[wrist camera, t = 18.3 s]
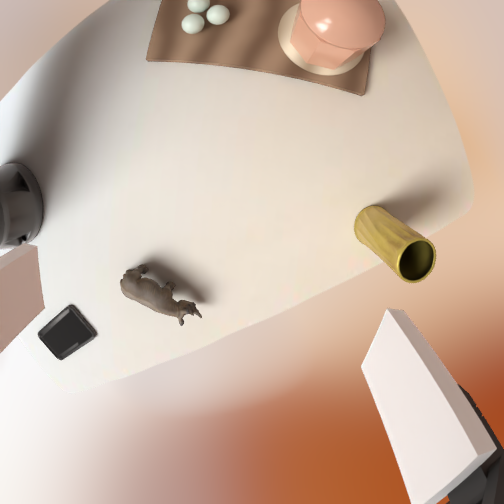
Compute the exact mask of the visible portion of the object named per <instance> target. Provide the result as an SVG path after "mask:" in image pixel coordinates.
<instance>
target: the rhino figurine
mask: <svg viewBox="0 0 504 504" xmlns="http://www.w3.org/2000/svg"><path fill="white" fill-rule="evenodd" d="M147 271H148V268H147V267H146V266H145V265H140V266H138V269H134V270H133V271H130V270H127V271H126V274H124V275H123V279H121V281H120V285H121V290H122V293H123V294H124V295H125V296H126V297H128V298H130V299H132V300H135V301H137V302H139V303H141V304H143V305H145V306H147V307H149V308H150V309H152V310H154V311H156V312H159V313H162V314H165V315H169V316H174V317H177V318H178V319H179V323H180V325H181V326H182V325H183V324H184V320H183V319H182V318H183V317H184V315H186V314H191V315H193V316H194V314H196V315H198V316H199V317H200V318H202V316H201V314H200V313H199V311H198V310H197V309H196V307H195V306H196V304H195V303H194V302H189V301H186V300H180V301H179V302H176V301H175V300H174V299H173V298H172V295H173V294H172V292H171V290H172V289H174V287H175V283H174V282H167V283H166V286H165V287H164V288H161V287H160V286H159V285H158V283H157V282H155V281H154V280H152V279H148V278H141V277H142V276H141V274H145V273H146V272H147ZM193 313H194V314H193Z"/></svg>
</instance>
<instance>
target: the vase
mask: <svg viewBox="0 0 504 504" xmlns="http://www.w3.org/2000/svg"><path fill="white" fill-rule="evenodd" d="M354 231H355V235H356V237H357V239H358V240H359V241H360V242H361V243H363V244H364V245H366V246H367V247H369V248H370V249H371V250H372V251H373V252H374V253H375V254H376V255H378V256H379V257H380V258H381V259H382V260H383V261H384V262H385V263H386V264H387V265H388V266H389V267H390V268H391V269H392V270H393V271H394V272H395V273H396V274H397V275H398V276H399V277H400V278H401V279H402V280H404V281H405V282H408V283H417V282H420V281H422V280H424V279H425V278H426V277H427V276H428V275H429V274H430V273H431V272H432V270H433V268H434V265H435V261H436V250H435V247H434V245H433V244H432V243H431V242H430V241H429V240H428V239H426V238H425V237H423V236H422V235H421V234H419V233H418V232H416V231H415V230H413V229H411V228H410V227H408V226H407V225H405V224H404V223H402V222H401V221H400V220H398V219H396V218H395V217H393V216H392V215H390V214H389V213H388V212H387V211H386V210H385V209H384V208H382V207H379V206H369V207H367V208H365V209H363V210H362V211H361V212H360V213H359V214H358V216H357V218H356V220H355V225H354Z"/></svg>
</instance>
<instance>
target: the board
mask: <svg viewBox="0 0 504 504" xmlns="http://www.w3.org/2000/svg"><path fill="white" fill-rule="evenodd" d="M187 3H188V0H162V2H161V5H160V8H159V11H158V15H157V18H156V22H155V25H154V29H153V32H152V36H151V40H150V44H149V48H148V52H147V56H146V60H147V61H159V62H182V63H196V64H208V65H217V66H226V67H234V68H241V69H248V70H254V71H260V72H266V73H272V74H277V75H282V76H287V77H292V78H296V79H301V80H305V81H309V82H314V83H318V84H322V85H325V86H329V87H333V88H336V89H340V90H343V91H347V92H350V93H354V94H357V95H360V96H362V95H364V93H365V87H366V80H367V74H368V67H369V60H370V53H371V47H370V48H369V49H367V50H366V51H365V52H364V54H363V57H362V59H361V60H360V62H359V63H358V64H357V65H356V66H355V67H354V68H352V69H351V70H349V71H347V72H345V73H342V74H339V75H331V76H326V75H318V74H314V73H311V72H308V71H306V70H304V69H302V68H300V67H299V66H297V65H296V64H295V63H293V62H292V61H291V60H290V59H289V58H288V57H287V55H286V54H285V53H284V51H283V49H282V47H281V45H280V42H279V38H278V27H279V23H280V20H281V18H282V17H283V15H284V14H285V13H286V12H287V11H288V10H289V9H290V8H291V7H293V6H295V5H296V4H299V3H300V0H210V6H209V8H208V9H207V10H206V11H204V12H201V13H194V12H192V11H190V10H189V8H188V5H187ZM215 5H223V6H225V7H226V8H227V9H228V10H229V13H230V16H229V19H228V20H227V21H226V22H225V23H223V24H220V25H216V24H212V23H211V22H209V21H208V19H207V11H208V10H209V9H210V8H211V7H212V6H215ZM190 14H198V15H200V16H201V17H202V18H203V19H204V22H205V23H204V27H203V29H202V30H201V31H200V32H198V33H195V34H189V33H187V32H185V31H184V30H183V28H182V21H183V19H184V18H185V17H186V16H188V15H190Z"/></svg>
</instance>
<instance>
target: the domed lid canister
mask: <svg viewBox="0 0 504 504" xmlns="http://www.w3.org/2000/svg"><path fill="white" fill-rule="evenodd" d="M384 29H385V15H384V12H383V9H382V7H381V5H380V4H379V2H378V1H377V0H300V3H299V6H298V9H297V12H296V15H295V18H294V22H293V28H292V33H291V38H290V43H291V44H292V45H293V47H294V48H295V49H296V50H297V52H298V53H299V54H300V55H301V57H302V58H303V59H304V61H305V62H306V63H308V64H312V65H316V66H320V67H324V68H328V69H332V70H335V69H337V68H339V67H341V66H343V65H344V64H346V63H348V62H350V61H352V60H354V59H356V58H357V57H358V56H360V55H361V54H362V53H364V52H365V51H366V50H367V49H369V48H370V47H371V46H373V45H374V44H375V43H377V42H378V41H379V40H380V39H381V36H382V34H383V32H384Z"/></svg>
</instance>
